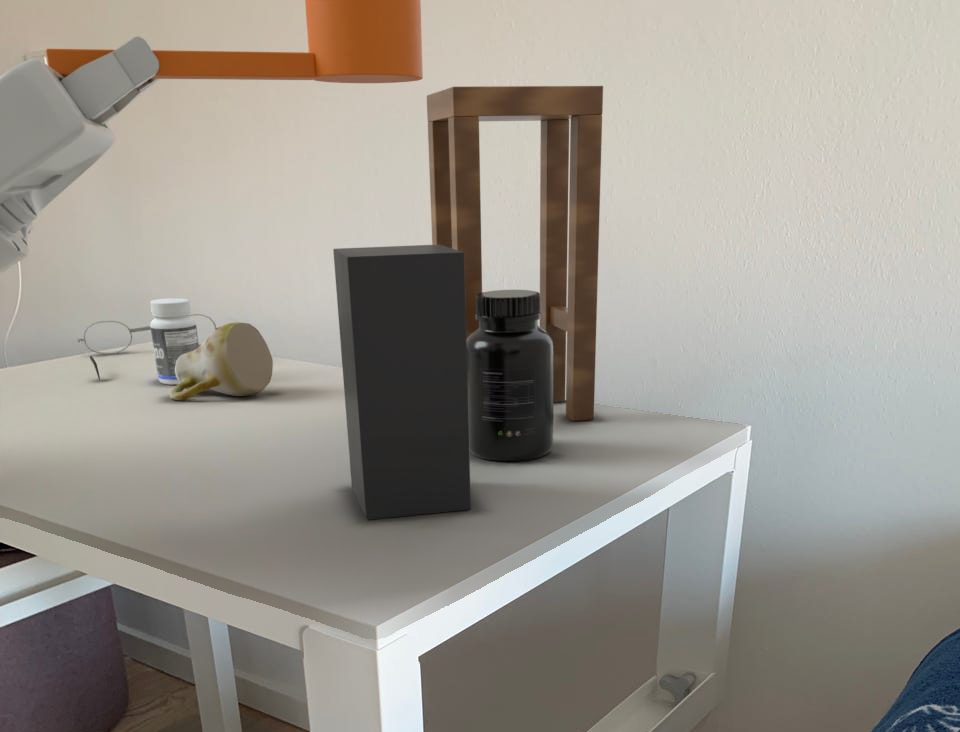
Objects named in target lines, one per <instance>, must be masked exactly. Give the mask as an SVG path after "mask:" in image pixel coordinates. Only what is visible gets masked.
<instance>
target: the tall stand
mask: <svg viewBox="0 0 960 732" xmlns="http://www.w3.org/2000/svg"><path fill="white" fill-rule="evenodd" d="M603 106H604V85H505V86H502V85H501V86H500V85H499V86H495V85H494V86H491V85H490V86H487V85H485V86H484V85H483V86H479V85H478V86H452V87H448V88H445V89H442V90H440V91H436V92H433V93H430V94H427V95H426V116H427V141H428V142H427V143H428V169H429V194H430V196H429V197H430V217H431V218H430V220H431V221H430V222H431V245H442V246H445V247H449V248H452V249H455V250H458V251H461V252H464V264H465V303H466V340H467V338H468V336H469V335H470V334H471V333H472V332H474V331H475V330H476V329H478V328H479V321H477V320H476V295H477V294H478V293H482V292H483V261H482V260H483V258H482V256H483V255H482V214H481V213H482V210H481V209H482V207H481V205H482V204H481V155H480V153H481V152H480V149H481V148H480V122H531V121H532V122H535V121H536V122H537V121H538V122H539V121H540V148H539V149H540V151H539V153H540V155H539V156H540V158H539V159H540V160H539V161H540V169H539V170H540V171H539V172H540V174H539V175H540V176H539V177H540V178H539V179H540V180H539V183H540V184H539V185H540V186H539V190H540V191H539V192H540V193H539V196H540V197H539V214H540V215H539V293H540V311H541V319H539V327H540V328H542V329H543V330H545V331H546V332H547V333H548V334H549V335H550V337H551V339H552V341H553V403H562V402H565V417H566V418H567V419H569V420H570V421H572V422H582V421H593V420H594V418H595V389H596V387H595V385H596V355H597V352H596V351H597V320H598V319H597V318H598V317H597V316H598V287H599V286H598V284H599V283H598V282H599V281H598V280H599V247H600V245H599V243H600V214H601V213H600V212H601V211H600V207H601V206H600V205H601V176H602V175H601V174H602V142H603V141H602V140H603V139H602V137H603Z"/></svg>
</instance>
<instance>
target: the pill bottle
mask: <svg viewBox="0 0 960 732" xmlns="http://www.w3.org/2000/svg"><path fill="white" fill-rule="evenodd" d="M190 303H191V302H190V299H187V298H180V297H178V298H177V297H175V298H174V297H173V298H172V297H170V298H158V299H152V300H150V303H149V304H150V312H151V316H153V317H154V318H153V319H152V320H151V322H150V324H149V326H150V328H151V330H150V334H151V340H152V346H153V352H154V353H153V354H154V360H155V365H156V372H157V378H158V381H159V382H160V383H161V384H163V385H175V386H176V385H178V384H180V382H179V381H178V379H177V377H176V374H175V365H176V361H177V359H178V358H179V357H180V356H181V355H183V354H185V353H188V352H191V351H194V350H196V349H197V348H198V347H199V345H200V343H199V336H198V328H197V327H198V326H197V323H196V320H195V319H194V318H192V317H191V316H189V315H190V314H192V312H191V309H192V308H191V304H190Z"/></svg>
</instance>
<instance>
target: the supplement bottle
mask: <svg viewBox="0 0 960 732" xmlns="http://www.w3.org/2000/svg"><path fill="white" fill-rule="evenodd" d="M540 319H541V311H540V292H539V291H536V290H529V289H497V290H489V291H488V290H487V291H482V293H478V294H477V295H476V320H477V321H479V328H478V329H476V330H475V331H474V332H472V333H471V334H470V335H469V336H468V338H467V340H466V342H467V380H468V419H469V452H470V453H471V454H473V456H475V457H477V458H479V459H483V460H487V461H494V462H521V461H529V460H534V459H538V458H541V457H543V456H545V455H547V454H548V453H550V451H551V450H552V448H553V446H554V402H553V341H552V339H551V337H550V335H549V334H548V333H547V332H546V331H545V330H543V329H542V328H540V325H539V324H538V323H539V320H540Z"/></svg>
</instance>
